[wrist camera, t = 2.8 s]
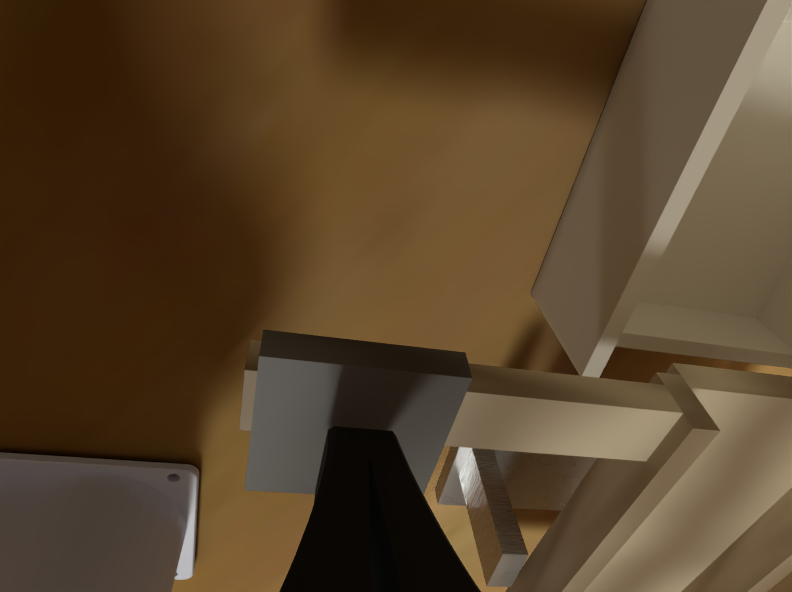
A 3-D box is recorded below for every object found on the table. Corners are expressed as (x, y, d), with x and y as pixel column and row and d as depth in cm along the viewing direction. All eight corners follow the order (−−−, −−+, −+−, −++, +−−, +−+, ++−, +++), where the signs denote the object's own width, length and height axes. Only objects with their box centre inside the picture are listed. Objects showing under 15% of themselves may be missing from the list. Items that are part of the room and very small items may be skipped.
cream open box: (530, 293, 21) (581, 377, 17) (661, -37, 16) (784, -35, 11) (752, 324, 23) (846, 406, 19) (937, 41, 18) (1128, 68, 13)
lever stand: (434, 490, 27) (459, 615, 22) (469, 398, 24) (507, 518, 19) (651, 503, 29) (719, 618, 24) (706, 420, 26) (797, 532, 21)
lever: (222, 654, 25) (208, 748, 22) (259, 273, 13) (238, 376, 10) (598, 653, 29) (625, 734, 26) (898, 358, 17) (1009, 450, 14)
